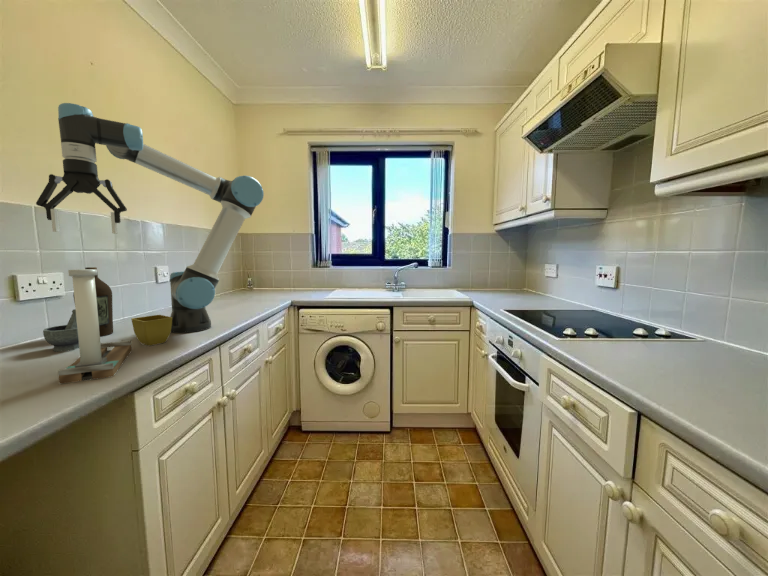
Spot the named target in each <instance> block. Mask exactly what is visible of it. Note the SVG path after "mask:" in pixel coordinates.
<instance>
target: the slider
mask: <svg viewBox="0 0 768 576" xmlns="http://www.w3.org/2000/svg"><path fill="white" fill-rule="evenodd" d="M97 271H98V268H97V269H85V268H84V269H83V268H82V269H81V268H80V269H77V268H76V269H68V271H67V272H68V276H69V277H72V285H73V286H72V288H73V293H74V297H73V299H74V298H75V302H74V306H75V307H74V309H76V319H77V329H78V340H79V348H78V350H79V357H80V360H81V361H80V362H79V363H78V364H77V365H76V366H75V368H76V367H84V366H92V365H101V364H105V363H106V361H107V357H104V358H102V355H101V336H100V332H99V321H98V310H97V299H96V288H95V276H96V275H99V274H97Z"/></svg>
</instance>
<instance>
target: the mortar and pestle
mask: <svg viewBox="0 0 768 576" xmlns="http://www.w3.org/2000/svg"><path fill="white" fill-rule="evenodd" d="M71 312H72V314H71V315H70V317H69V320H68V322H67V323H66V324H62V325H56V326H55V325H54V326H50V327H47V328H44V329H43V331H42V334H43V338H44V340H45V341H46V342H47V343H48V344H49V345H51V346H53V352H57V351H60V352H68V350H69V351H74V350H77V349H79V340H78V329H77V319H76V309H75V308H74V309H72V311H71ZM73 349H74V350H73Z"/></svg>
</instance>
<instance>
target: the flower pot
mask: <svg viewBox="0 0 768 576" xmlns="http://www.w3.org/2000/svg"><path fill="white" fill-rule="evenodd" d="M131 323H132V328H133V332H134V335H135V337H136V338H137V340H138V342H140V344H141V345H145V346H149V347H152V346H155V345H159V344H164V343H166V342H167V341H168V339H169V337H170V335H171V333H172V332H171V326H172V317H170V316H168V315H164V314H153V315H148V316H140V317H133V318H131Z"/></svg>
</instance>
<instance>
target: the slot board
mask: <svg viewBox="0 0 768 576" xmlns="http://www.w3.org/2000/svg"><path fill="white" fill-rule="evenodd" d="M100 344H101V355H102V358H104V357H107V361H106V363H105V364H101V365H92V366H84V367H76V368H75V366H76V365H77V364H78V363H79V362H80V361H81V360H80V356H79V357H78V358H77V359H76V360H74V361H73V363H71V364H70V365H68V366H67V367H65V368H60V369H59V370H57V375H58V376H57V377H58V384H59V385H62V384H68V383H69V384H70V383H77V382H84V381H89V380H90V379H91V380H97V378H98V379H104V378H105V377H106V378H112V377H111V376H113V377H115V375H116V374H115V373H118V371H119V369H120V368H121V367H120V366H122V365H123V364H124V362H125V361H126V360H127V358H128V357H129V355H130V354H131V353H132V351H133V345H132V340H122V341H112V342H105V343H101V342H100ZM108 348H112V349H110V350H109V349H108ZM130 352H131V353H130ZM127 356H128V357H127ZM125 359H126V360H125ZM122 363H123V364H122ZM117 370H118V371H117ZM114 374H115V375H114Z"/></svg>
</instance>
